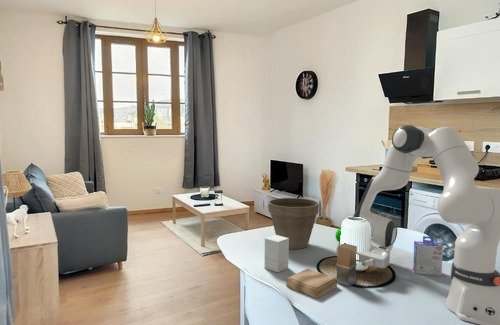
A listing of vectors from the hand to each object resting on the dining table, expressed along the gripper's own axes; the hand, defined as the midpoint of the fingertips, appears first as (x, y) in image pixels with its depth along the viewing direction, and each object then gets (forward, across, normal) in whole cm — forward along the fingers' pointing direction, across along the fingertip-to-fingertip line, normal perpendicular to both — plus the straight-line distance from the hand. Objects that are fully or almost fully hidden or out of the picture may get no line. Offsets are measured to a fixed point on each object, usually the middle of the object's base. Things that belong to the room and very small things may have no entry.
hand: (352, 260), depth 133 cm
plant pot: (-17, -41, +8) cm, 45 cm away
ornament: (-37, -24, +8) cm, 45 cm away
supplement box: (+12, -27, +8) cm, 31 cm away
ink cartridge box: (-29, +18, +8) cm, 35 cm away
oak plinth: (+16, -7, +8) cm, 19 cm away
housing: (+4, 0, +8) cm, 9 cm away
